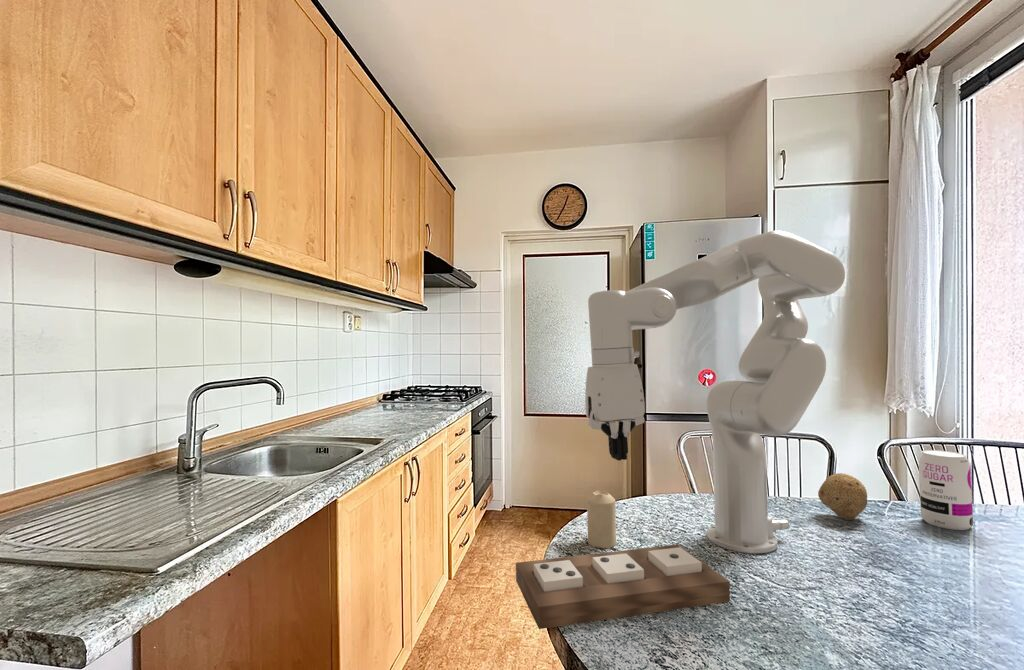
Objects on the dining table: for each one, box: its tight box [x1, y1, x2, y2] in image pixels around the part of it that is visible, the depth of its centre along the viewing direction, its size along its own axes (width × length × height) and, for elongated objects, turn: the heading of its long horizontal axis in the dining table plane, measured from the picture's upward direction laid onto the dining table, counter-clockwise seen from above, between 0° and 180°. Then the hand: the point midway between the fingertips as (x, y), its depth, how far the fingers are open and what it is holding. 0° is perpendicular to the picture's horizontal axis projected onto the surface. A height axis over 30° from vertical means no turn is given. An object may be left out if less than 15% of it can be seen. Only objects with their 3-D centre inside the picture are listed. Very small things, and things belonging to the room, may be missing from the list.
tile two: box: [593, 554, 644, 584], centre depth 75 cm, size 6×6×3 cm
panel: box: [515, 544, 731, 630], centre depth 75 cm, size 30×14×3 cm, turn 102°
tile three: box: [534, 560, 583, 592], centre depth 73 cm, size 6×6×3 cm
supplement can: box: [918, 449, 974, 531], centre depth 101 cm, size 8×8×15 cm
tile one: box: [648, 546, 703, 576], centre depth 77 cm, size 6×6×3 cm
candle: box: [586, 489, 617, 549], centre depth 94 cm, size 6×6×10 cm
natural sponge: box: [817, 472, 868, 521], centre depth 105 cm, size 9×9×10 cm
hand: (619, 458), depth 86 cm, fingers closed
